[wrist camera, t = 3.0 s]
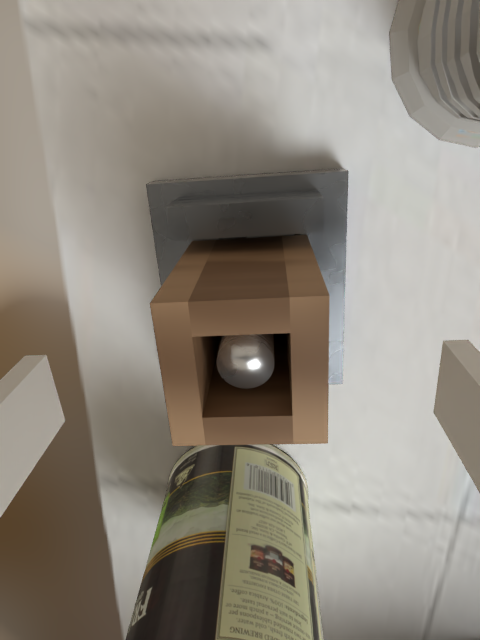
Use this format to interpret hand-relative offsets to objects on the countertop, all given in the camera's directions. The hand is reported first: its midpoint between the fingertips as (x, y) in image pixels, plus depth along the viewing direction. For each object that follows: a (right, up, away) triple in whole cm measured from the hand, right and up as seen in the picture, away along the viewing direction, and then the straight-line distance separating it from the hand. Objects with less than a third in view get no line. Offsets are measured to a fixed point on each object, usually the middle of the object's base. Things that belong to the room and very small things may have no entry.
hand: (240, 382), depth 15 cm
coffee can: (0, -10, +17) cm, 20 cm away
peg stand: (+1, +4, +11) cm, 11 cm away
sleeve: (+1, +4, +9) cm, 10 cm away
